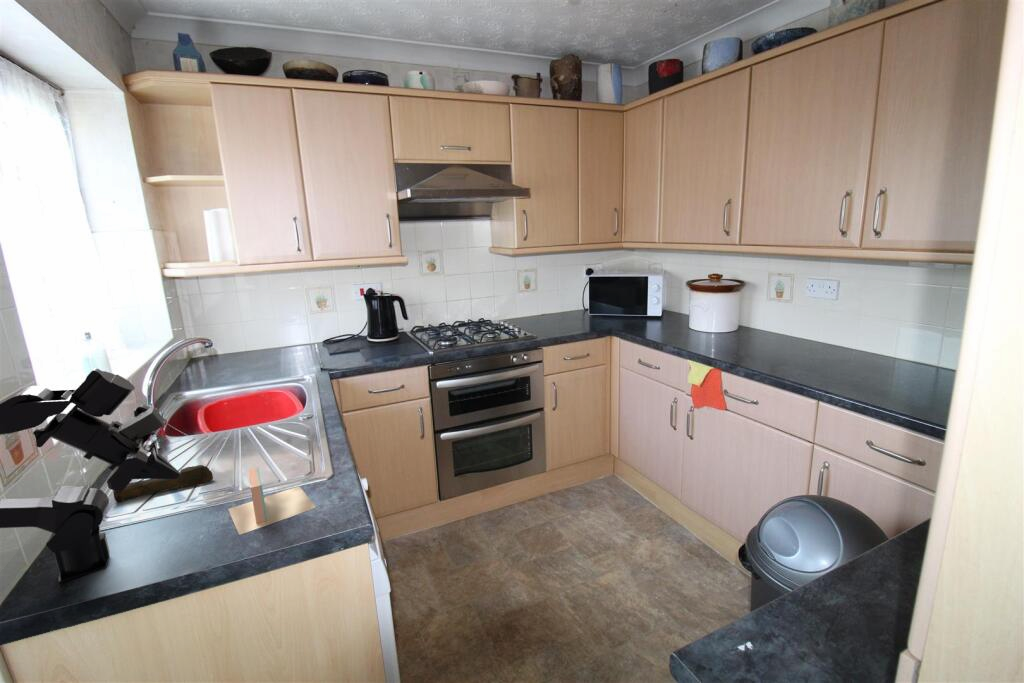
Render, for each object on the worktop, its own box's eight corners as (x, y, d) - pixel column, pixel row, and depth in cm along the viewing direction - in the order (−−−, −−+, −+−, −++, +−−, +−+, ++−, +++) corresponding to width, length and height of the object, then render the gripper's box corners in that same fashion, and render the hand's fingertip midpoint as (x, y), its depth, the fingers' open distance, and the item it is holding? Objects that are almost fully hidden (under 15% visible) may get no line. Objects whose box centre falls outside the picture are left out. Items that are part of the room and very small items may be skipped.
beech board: (240, 540, 96) (239, 534, 96) (228, 514, 105) (228, 509, 105) (316, 512, 105) (315, 507, 104) (300, 490, 114) (299, 486, 114)
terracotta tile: (256, 524, 99) (250, 487, 97) (253, 503, 107) (247, 469, 105) (267, 521, 100) (261, 485, 98) (263, 501, 108) (258, 467, 106)
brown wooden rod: (113, 506, 110) (109, 487, 109) (119, 497, 114) (114, 479, 113) (211, 486, 118) (208, 468, 117) (213, 479, 121) (210, 461, 120)
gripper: (117, 414, 80) (207, 459, 88) (133, 385, 96) (209, 426, 104) (65, 471, 78) (162, 513, 86) (90, 432, 94) (171, 470, 102)
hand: (178, 476), depth 95 cm, fingers closed
